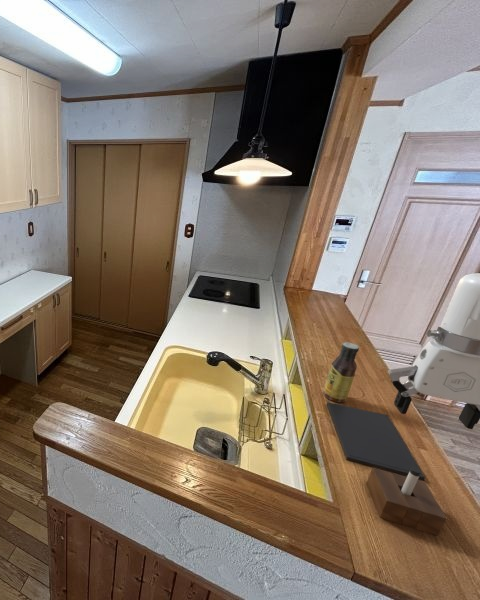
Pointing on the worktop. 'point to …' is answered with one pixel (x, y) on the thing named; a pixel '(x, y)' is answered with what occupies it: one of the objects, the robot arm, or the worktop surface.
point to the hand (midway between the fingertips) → (431, 416)
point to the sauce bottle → (341, 374)
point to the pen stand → (405, 502)
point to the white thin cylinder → (410, 481)
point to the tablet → (371, 439)
